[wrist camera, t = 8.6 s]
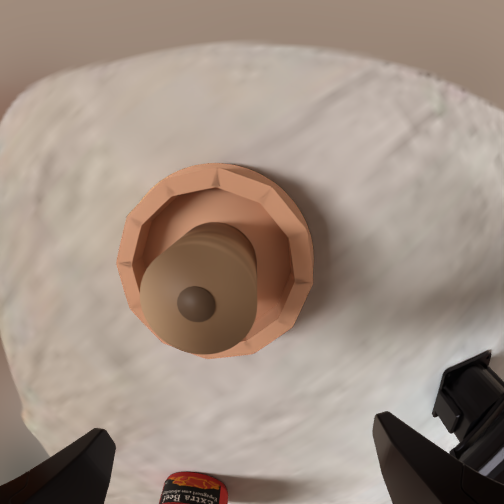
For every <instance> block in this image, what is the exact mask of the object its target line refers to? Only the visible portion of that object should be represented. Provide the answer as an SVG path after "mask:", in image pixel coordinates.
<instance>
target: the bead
mask: <svg viewBox="0 0 504 504" xmlns="http://www.w3.org/2000/svg"><path fill="white" fill-rule="evenodd" d="M140 303H141V307H142V311H143V314H144V316H145V318H146V320H147V322H148V324H149V325H150V327H151V328H152V330H153V331H154V332H155V333H156V334H157V335H158V336H159V337H160V338H161V339H162V340H164V341H165V342H166V343H168V344H169V345H171V346H173V347H175V348H177V349H179V350H181V351H185V352H188V353H193V354H202V355H205V354H215V353H220V352H223V351H226V350H228V349H230V348H232V347H234V346H235V345H237V344H238V343H239V342H241V341H242V340H243V339H244V338H245V337H246V336H247V334H248V333H249V331H250V330H251V328H252V326H253V324H254V321H255V318H256V313H257V259H256V253H255V250H254V248H253V245H252V244H251V242H250V240H249V239H248V238H247V237H246V236H245V234H244V233H242V232H241V231H240V230H239V229H237V228H235V227H233V226H231V225H229V224H225V223H220V222H209V223H204V224H201V225H198V226H196V227H194V228H192V229H191V230H190V231H188V232H187V233H186V234H185V235H183V236H182V237H181V238H180V239H179V240H177V241H176V242H175V243H174V244H172V245H171V246H170V247H169V248H167V249H166V250H165V251H164V252H163V253H161V254H160V255H159V256H158V257H157V258H155V259H154V260H153V262H152V263H151V264H150V265H149V267H148V268H147V269H146V271H145V273H144V276H143V278H142V281H141V286H140Z"/></svg>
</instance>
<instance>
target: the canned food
mask: <svg viewBox="0 0 504 504" xmlns="http://www.w3.org/2000/svg"><path fill="white" fill-rule="evenodd" d="M227 502H228V492H227V489H226V486H225V485H224V484H223V483H222V482H220V481H219V480H217V479H215V478H213V477H211V476H208V475H204V474H200V473H194V472H178V473H174V474H172V475H170V476H169V477H168V478H167V480H166V481H165V483H164V487H163V491H162V494H161V498H160V502H159V504H227Z"/></svg>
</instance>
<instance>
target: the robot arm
mask: <svg viewBox="0 0 504 504" xmlns="http://www.w3.org/2000/svg"><path fill="white" fill-rule="evenodd" d="M490 358H491V353H490V352H489V351H487V352H485V353H483V354H481V355H479V356H477V357H475V358H473V359H471V360H468V361H466V362H464V363H462V364H459V365H457V366H455V367H452V368H450V369H447V370H446V371H445V372H444V373H443V376H442V380H441V384H440V388H439V391H438V395H437V398H436V402H435V405H434V408H433V412H432V415H433V417H437V416H439V418H440V419H441V421H442V422H443V424H444V425H445V427H446V428H447V430H448V432H449V433H451V434H452V433H454V434H455V435H456V437H457V438H458V440H459V442H460V443H459V444H458V445H457V446H456V447H455V448H453V449H452V450H451V451H450V452H449V453H450V454H449V453H447V452H446V451H444V450H443V449H441V448H440V447H438V446H437V445H435V444H434V443H433V442H431V441H430V440H428V439H427V438H425V437H424V436H422V435H421V434H420V433H418V432H417V431H415V430H414V429H412V428H411V427H410V426H408V425H407V424H405V423H404V422H403V421H401V420H400V419H398V418H397V417H396V416H394V415H393V414H392V413H390V412H388V411H385V412H382V413H378V414H376V415H375V418H374V424H373V438H374V442H375V446H376V451H377V455H378V459H379V464H380V468H381V472H382V475H383V478H384V481H385V484H386V486H387V489H388V492H389V494H390V497H391V500H392V503H393V504H504V382H503V381H502V380H501V378H500V377H499V376H498V375H497V374H496V373H495V372H494V371H493V370H492V369H491V368H490V367H489V366H488V365H489V362H490ZM115 450H116V446H115V443H114V441H113V440H112V438H111V437H110V435H109V434H108V432H107V431H106V430H105V429H101V428H94V429H92V430H91V431H89V432H88V433H87V434H85V435H84V436H82V437H81V438H79V439H78V440H76V441H75V442H73V443H72V444H70V445H69V446H67V447H66V448H64V449H63V450H61V451H59V452H58V453H56V454H55V455H53V456H52V457H50V458H49V459H47V460H45V461H44V462H42V463H41V464H39V465H37V466H36V467H34V468H33V469H31V470H30V471H28V472H26V473H24V474H23V475H21V476H19V477H18V478H16V479H14V480H12V481H10V482H8V483H6V484H3V485H1V486H0V504H104V501H105V497H106V494H107V490H108V487H109V483H110V478H111V473H112V467H113V461H114V456H115Z"/></svg>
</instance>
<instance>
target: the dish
mask: <svg viewBox="0 0 504 504" xmlns="http://www.w3.org/2000/svg"><path fill="white" fill-rule="evenodd" d="M209 222H220V223H225V224H229V225H231V226H233V227H235V228H237V229H239V230H240V231H241V232H242V233H244V234H245V236H246V237H247V238H248V239H249V240H250V242H251V244H252V245H253V248H254V250H255V253H256V259H257V313H256V318H255V321H254V324H253V326H252V328H251V330H250V331H249V333H248V334H247V336H246V337H245V338H244V339H243V340H242V341H241V342H239V343H238V344H237V345H235V346H234V347H232V348H230V349H228V350H226V351H223V352H220V353H215V354H205V355H202V354H194V355H197V356H200V357H203V358H206V359H212V358H222V357H232V356H240V355H249V354H253V353H256V352H257V351H259V350H260V349H262V348H263V347H265V346H266V345H268V344H269V343H271V342H272V341H273V340H275V339H276V338H278V337H279V336H281V335H282V334H284V333H285V332H286V331H288V330H289V329H291V328H292V327H293V325H294V323H295V321H296V319H297V317H298V315H299V313H300V311H301V309H302V306H303V304H304V302H305V300H306V298H307V296H308V294H309V291H310V289H311V287H312V285H313V275H312V274H313V265H314V253H313V244H312V239H311V235H310V232H309V229H308V226H307V223H306V221H305V219H304V217H303V215H302V213H301V211H300V210H299V208H298V207H297V206H296V204H295V203H294V201H293V200H292V199H291V198H290V197H289V196H288V194H287V193H286V192H285V191H284V190H283V189H281V188H280V187H279V186H278V185H277V184H275V183H274V182H273V181H271V180H270V179H268V178H266V177H265V176H263V175H261V174H259V173H257V172H255V171H252V170H250V169H247V168H244V167H240V166H237V165H230V164H223V163H208V164H201V165H195V166H191V167H188V168H184V169H182V170H179V171H177V172H175V173H173V174H171V175H169V176H167V177H166V178H164V179H163V180H161V181H160V182H159V183H157V184H156V185H155V186H154V187H153V188H152V189H150V191H149V192H148V193H147V194H146V195H145V196H144V197H143V198H142V200H141V201H140V203H139V204H138V205H137V206H136V207H135V208H134V209H133V210H132V211H131V212H130V213H129V214H128V216H127V218H126V222H125V226H124V230H123V235H122V239H121V243H120V248H119V252H118V257H117V262H116V264H117V268H118V271H119V275H120V278H121V282H122V285H123V288H124V292H125V295H126V298H127V301H128V304H129V307H130V308H131V310H132V312H133V313H134V314H135V315H136V316H137V317H138V318H139V319H140V320H141V321H142V322H143V323H144V324H145V325H146V326H147V327H148V328H149V330H150V331H151V332H152V333H153V334H154V335H155V336H156V337H157V338H158V339H159V340H160V341H161V342H162V343H164V344H167V345H169V344H168V343H166V342H165V341H164V340H162V339H161V338H160V337H159V336H158V335H157V334H156V333H155V332H154V331H153V330H152V328H151V327H150V325H149V324H148V322H147V320H146V318H145V316H144V314H143V311H142V307H141V303H140V286H141V281H142V278H143V276H144V273H145V271H146V269H147V268H148V267H149V265H150V264H151V263H152V262H153V260H154V259H155V258H157V257H158V256H159V255H160V254H161V253H163V252H164V251H165V250H166V249H167V248H169V247H170V246H171V245H172V244H174V243H175V242H176V241H177V240H179V239H180V238H181V237H182V236H183V235H185V234H186V233H187V232H188V231H190V230H191V229H192V228H194V227H196V226H198V225H201V224H204V223H209ZM170 346H171V345H170ZM172 347H173V346H172ZM191 354H193V353H191Z"/></svg>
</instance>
